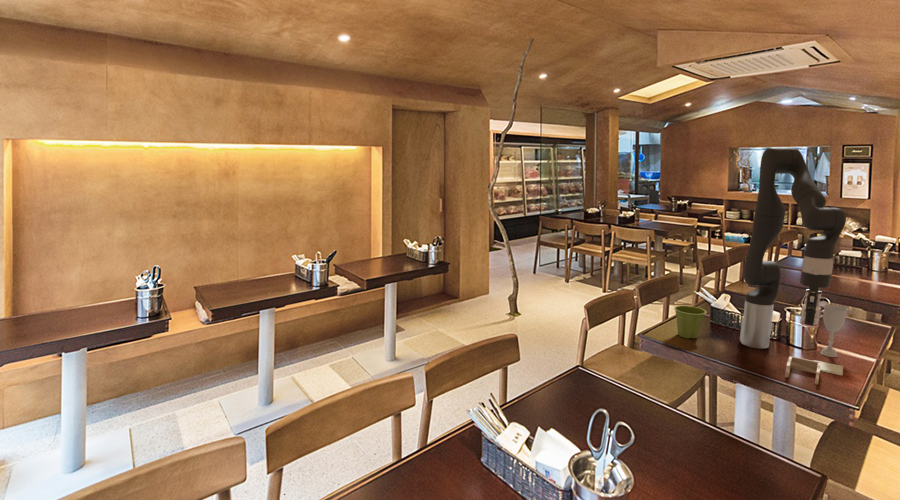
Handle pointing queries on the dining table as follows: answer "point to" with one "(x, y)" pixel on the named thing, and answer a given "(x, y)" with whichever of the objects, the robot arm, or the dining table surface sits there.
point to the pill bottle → (816, 318)
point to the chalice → (833, 325)
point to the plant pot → (689, 320)
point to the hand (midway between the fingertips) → (809, 322)
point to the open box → (803, 366)
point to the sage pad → (831, 368)
